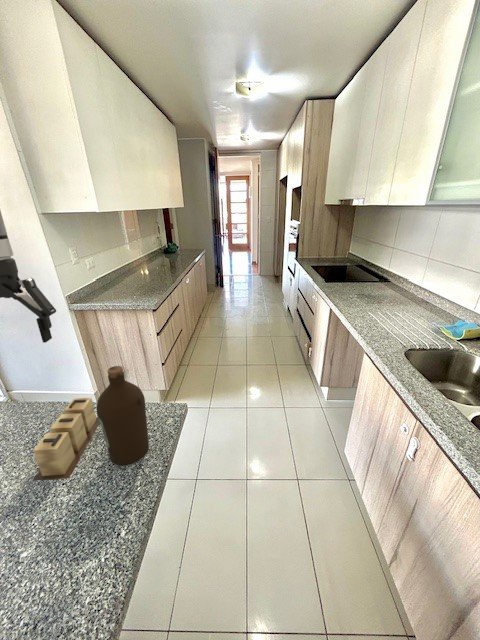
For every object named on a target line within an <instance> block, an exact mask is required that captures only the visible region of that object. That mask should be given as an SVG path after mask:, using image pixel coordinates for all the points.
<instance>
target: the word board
mask: <svg viewBox="0 0 480 640" xmlns="http://www.w3.org/2000/svg"><path fill="white" fill-rule="evenodd" d="M96 419H97V420H96V421H95V423H94V425H93V426H92V428H91V430H90V432H86V434H87V438H86V439H85V441H84V443H83V444H82V446H81V448H80V450H79V451H77V452H74V454H75V458H74V459H73V461H72V463H71V465H70V466H69V468H68V470H67V471H66V473H65V474H63V475H49V476H42V474H41V471H40V470H39V471H38V472H37V474H36V475H35V477H34V478H33V480H32V481H35V482H37V481H48V480H49V481H50V480H62V479H70V478H71V476H72V475H73V472H74V471H75V469H76V468H77V465H78V463H79V462H80V460H81V458H82V457H83V455H84V453H85V451H86V450H87V448H88V446H89V444H90V442H91V440H92V438H93V436H94V435H95V434H96V431H97V430H98V428H99V426H100V422H99V418H98V416H96Z"/></svg>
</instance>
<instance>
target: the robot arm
mask: <svg viewBox="0 0 480 640" xmlns="http://www.w3.org/2000/svg"><path fill="white" fill-rule="evenodd" d="M13 256H14V252H13V249H12V245H11V242H10V239H9V236H8V232H7V229H6V225H5V221H4V217H3V214H2V210H1V209H0V299H1V298H3V299H11V298H12V299H13V300H14V301H18V302H19V303H20V304H22V306H24V307H25V308H27V310H28V311H31V312H32V313H33V314H34V315H36V316H37V318H36V319H35V321H36V323H37V327H38V331H39V334H40V337H41V340H42V343H45V344H46V343H47V342H49V341H50V340H52V339H53V337H52V333H51V328H52V325H53V324H52V321H51V318H50V316H52V315H55V314H56V313H57V309H56V308H55V307H54V305H53V304H52V303H51V302H50V300H49V299H48V298H47V297H46V295H45V294H44V293H43V292H42V291H41V289H40V288H39V287H38V286H37V284H36V281H35V279H34V278H33V277H29V278H26V279H25V278H24V279H20V278H19V270H18V266H17V262H16V259H14V258H13Z"/></svg>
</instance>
